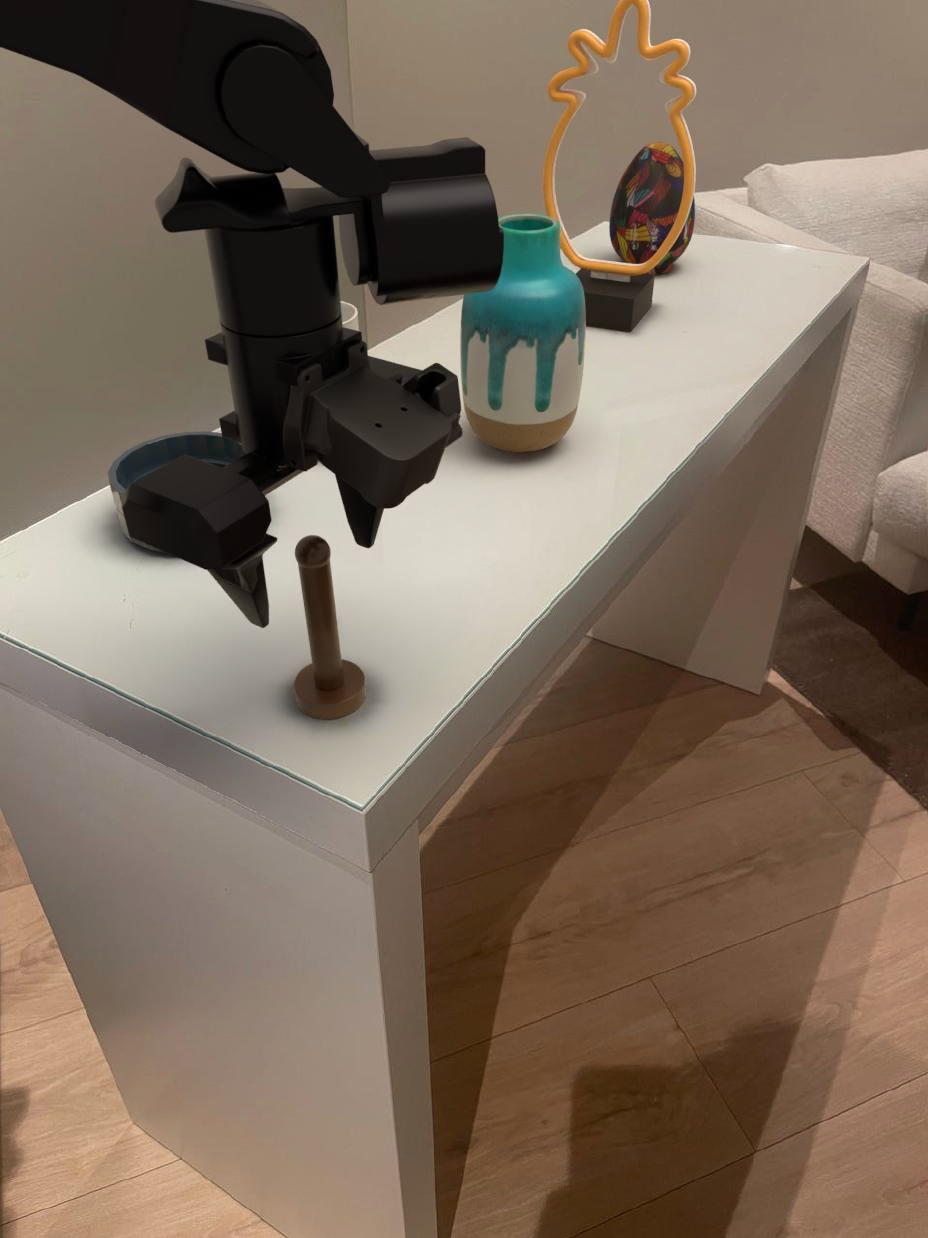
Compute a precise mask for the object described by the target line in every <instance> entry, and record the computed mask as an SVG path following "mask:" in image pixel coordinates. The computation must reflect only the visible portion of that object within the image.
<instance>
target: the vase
mask: <svg viewBox="0 0 928 1238" xmlns="http://www.w3.org/2000/svg"><path fill="white" fill-rule="evenodd" d="M498 221H499V227H501V228H502V229H503V233H504V253H503V264H502V269H501V274H500V277H499V280H498V283H497V284H496V286H495V287H494V289H492V290H490V291H486V292H478V293H471V294H463V298H462V305H461V316H460V335H459V336H460V337H459V339H460V341H459V342H460V345H459V346H460V347H459V349H460V351H459V352H460V353H459V355H460V356H459V357H460V360H459V361H460V380H461V382H460V383H461V392H462V401H463V408H464V412H465V417H466V420H467V422H468V424H469V426H470V428H471V429H472V432H474V434H475V435H476V436H477V437H478V438H479V439H480V440H481V441H482V442H484V443H485V444H487V445H489V446H491V447H493V448H495V449H498V450H502V451H507V452H516V453H518V452H519V453H524V452H525V453H529V452H536V451H540V450H543V449H546V448H549V447H550V446H552V445H555V444H556V443H558V442H559V441H560V440H561V439H562V438H564V436H566V434H567V433H568V431H569V430H570V428H571V427H572V425H573V423H574V422H575V419H576V415H577V411H578V407H579V403H580V397H581V390H582V384H583V376H584V365H585V354H586V353H585V351H586V334H587V333H586V330H587V329H586V328H587V326H586V310H585V297H584V290H583V286H582V284H581V281H580V279H579V278H578V276H577V275H576V272H574V271H573V270H571V269H570V268H569V267H566V266H565V265H564V264H563V262H562V257H561V248H560V224H559V222H558V221H557V220H556V219H554V218H552V217H549V216H547V215H545V214H538V213H513V214H512V213H511V214H506V215H503V216H500V217H498Z"/></svg>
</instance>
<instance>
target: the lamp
mask: <svg viewBox="0 0 928 1238" xmlns="http://www.w3.org/2000/svg"><path fill="white" fill-rule="evenodd" d="M632 7H636V10H637V29H636V44H637V49H638V50H637V51H638V53H639V54H640V56H641V57H642V59H644V60H646V61H655V60H657V59H660V58H662V57H664V56H667V55H669V54H671V53H673V52H677V57H676V59H674V60H673V61H672V62H671V63H670V64H669V65H667V66H666V67H665V68H664V69H663V70H661V71H660V73H659V75H658V80H659V82H660V83H661V84H664V85H666V86H667V85H668V86H670V87H673V88H676V89H679V90H681V92H682V94H680V95H678V96H676V97H673V98H670V99H668V100H667V101H666V102H665V104H664V109H665V111H666V113H667V115H668V116H669V120H670V124H671V126H672V128H673V131H674V133H675V136H676V139H677V141H678V145H679V149H680V152H681V153H680V154H681V157H682V158H681V160H682V161H683V166H684V188H683V195H682V201H681V205H680V209H679V212H678V215H677V218H676V220H675V222H674V225H673V227H672V229H671V231H670V232H669V234H668V236H667V238H666V239H665V241H664V242H663V244H662V245H661V247H660V248H659V249H658V251H657V252H656V253H655V254H654V256H653V257H652V258H651V259H649V260H648V261H647V262H645V263H642V264H630V263H624V262H623V261H622V262H620V261H614V260H613V261H612V260H605V259H596V258H589V257H585V255H582V254H580V252H578V250H577V249H576V247H575V246H574V244H573V242H572V240H571V239H570V237H569V234H568V232H567V230H566V228H565V226H564V223H563V220H562V217H561V214H560V210H559V206H558V202H557V195H556V184H555V182H556V181H555V180H556V179H555V177H556V167H557V166H556V164H557V160H558V159H557V158H558V155H559V151H560V147H561V144H562V141H563V139H564V137H565V134H566V132H567V130H568V128H569V127H570V124H571V122H572V121H573V119H574V118H575V116H576V114H577V113H578V111H579V110H580V108H581V107H582V105H583V104H584V102H585V101H586V98H587V93H586V92H583V91H581V90H577V89H571V88H570V89H569V88H564V86H565V85H567V84H568V83H569V82H571V81H573V80H576V79H580V78H584V77H587V76H591V75H594V74H597V73H598V72H599V70H600V69H599V64H598V63H597V62H596V60H595V59H594V57H593V56H592V54H591V53H590V52H589V50H588V49H587V48H586V46H587V47H588V48H589V49H590V50H591V52H593V53H594V54H595V55H596V56H598V57H600V58H602V59H603V60H604V61H605V62H607V63H608V64H614V63H616V61H617V59H618V55H619V50H620V45H621V39H622V35H623V29H624V24H625V22H626V18H627V15H628V13H629V11H630V10H631V8H632ZM611 15H612V16H611V19H610V21H609V27H608V31H607V37H606V43H605V42H604V41H603V40H602V39H601V38H600V37H598V35H596V33H594V32H593V31H591V30H589V29H586V28H582V29H578V30H575V31H573V32H572V33H571V34H570V35H569V37H568V39H567V50H568V52H569V54H570V55H571V56H572V58H574V60H575V61H576V63H578V66H572V67H569V68H566V69H563V70H561V71H559V72H557V73H556V74H554V76H552V78H551V79H550V81H549V82H548V84H547V90H546V91H547V95H548V97H549V99H550V100H551V101H552V102H554V103H561V104H563V103H564V104H566V103H567V104H568V105H567V107H566V109H565V110H564V112H563V114H562V115H561V117H560V119H558V122H557V124H556V125H555V128H554V130H553V132H552V135H551V137H550V140H549V143H548V146H547V149H546V153H545V157H544V162H543V163H544V164H543V170H542V171H543V172H542V193H543V202H544V207H545V212H546V213H545V214H546V216H549V217H552V218H554V219H556V220H557V221H558V222H559V224H560V251H561V252H562V253H563V255H564V256H565V257H566V258H567V260H568V261H569V262H570V263H571V264H572V265H573V266H575V267H577V268H579V270H578V271H576V272H575V274H576V275H577V276H578V278H579V279H580V281H581V284H582V286H583V290H584V297H585V310H586V327H593V328H599V329H607V330H611V331H620V332H625V333H631V332H632V331H633V330H634V329H635V328H636V326H637V325H638V324H639V323H640V322H641V320H642V319H643V318H644V317H645V315H646V314H647V313H648V311H649V310H650V309H651V308H652V306H653V296H654V287H655V279H656V274H654V275H653V274H644V273H646V272H648V271H649V270H651V269H652V268H653V267H655V266H656V265H657V264H658V263H659V262H660V261H661V260H662V259H663V257H664V256H665V255H666V254H667V252H668V251H669V250H670V248H671V247H672V245H673V244H674V243H675V241H676V240H677V238H678V236H679V234H680V232H681V231H682V229H683V227H684V225H685V223H686V220H687V218H688V215H689V212H690V208H691V205H692V201H693V197H694V198H695V191H696V182H697V181H696V180H697V179H696V178H697V167H696V166H697V165H696V156H695V151H694V145H693V141H692V137H691V133H690V130H689V127H688V124H687V122H686V119H685V117H684V115H683V111H684V110H685V108H687V107H688V106H689V105H690V104H691V103H692V102H693V101H694V99H695V98H696V97H697V86H696V84H695V82H694V81H693V80H692V79H691V78H689V77H687V76H685V75H682V74H679V73H680V72H681V71H682V70H683V69H684V68H685V67H686V66H687V65H688V63H689V61H690V59H691V54H692V53H691V47H690V44H689V43H688V42H687V41H686V40H684V39H681V38H673V39H669V40H666V41H664V42H662V43H659V44H656V45H652V44H651V23H652V10H651V5H650V2H649V0H619V1H618V3H617V4H616V6H615V8H614V11H613V13H612V14H611ZM584 44H585V45H584Z"/></svg>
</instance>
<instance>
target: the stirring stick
mask: <svg viewBox="0 0 928 1238" xmlns="http://www.w3.org/2000/svg"><path fill="white" fill-rule="evenodd" d="M331 556H332V551H331V547H330V544H329V542H327V540H326V539H325V538H324V537H322V536H319V535H316V534H310V535H306V536H304V537H302V538H301V539H300V540H299V541H298V542H297V544H296V545H295V548H294V557H295V561H296V562H297V566H298V575H299V580H300V586H301V588H300V589H301V594H302V602H303V608H304V615H305V622H306V630H307V635H308V636H307V637H308V644H309V645H308V646H309V652H310V658H311V663H309V664H308V665H306V666H304V667H303V668H302V669H301V670H300V671H299V672H298V673H297V675H296V677H295V679H294V682H293V690H294V696H295V701H296V705H297V706H298V708H299V709H300V710H301V712H303V713H304V714H305V715H307V716H309V717H312V718H315V719H319V720H334V719H339V718H343V717H346V716H348V715H351V714H352V713H354V712H356V711H357V710H358V709H359V708H360V707H362V705H363V703H364V702H365V700H366V696H367V687H366V686H367V685H366V677H365V674H364V671H363V670H362V669H361V667H360V666H359V665H357V664H356V663H355V662H352V661H350V660H347V659H344V658H342V651H341V644H340V635H339V633H340V632H339V625H338V617H337V608H336V600H335V593H334V592H335V590H334V583H333V582H334V581H333V574H332V565H331Z"/></svg>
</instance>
